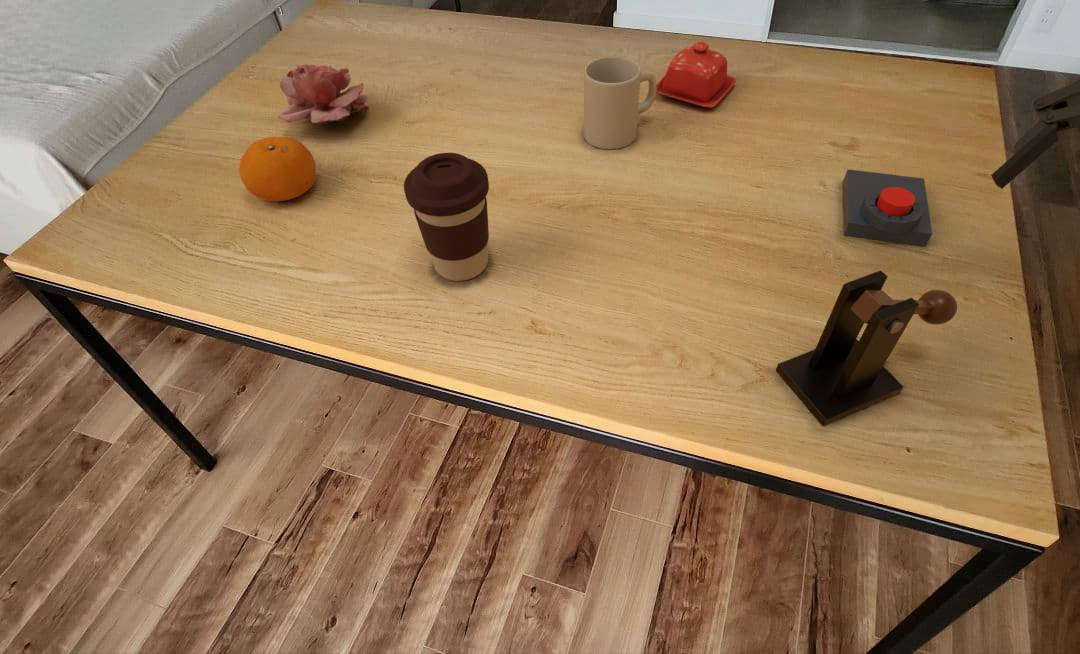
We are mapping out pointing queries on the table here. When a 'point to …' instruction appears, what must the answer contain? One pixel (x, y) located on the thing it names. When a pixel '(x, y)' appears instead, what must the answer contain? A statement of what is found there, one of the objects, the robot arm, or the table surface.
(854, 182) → the button block
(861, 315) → the lever
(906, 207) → the button
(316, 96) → the flower
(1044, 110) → the robot arm
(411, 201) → the coffee cup
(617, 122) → the mug
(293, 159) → the fruit
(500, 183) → the table surface
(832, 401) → the bracket
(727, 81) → the butter dish
